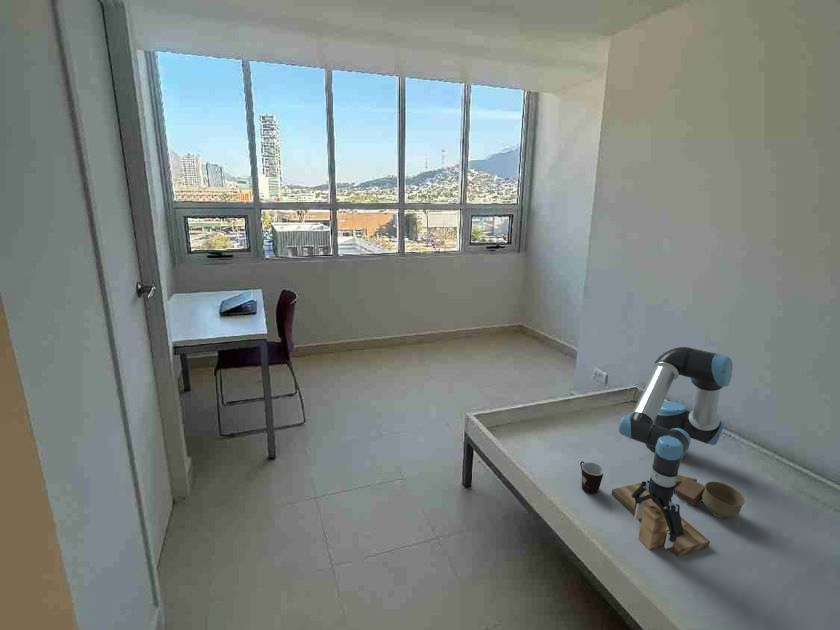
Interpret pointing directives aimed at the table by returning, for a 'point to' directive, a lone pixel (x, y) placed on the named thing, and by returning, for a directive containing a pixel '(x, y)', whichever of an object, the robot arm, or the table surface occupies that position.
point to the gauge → (654, 527)
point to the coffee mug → (591, 477)
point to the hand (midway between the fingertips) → (652, 532)
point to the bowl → (722, 499)
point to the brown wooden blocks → (689, 489)
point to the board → (681, 546)
